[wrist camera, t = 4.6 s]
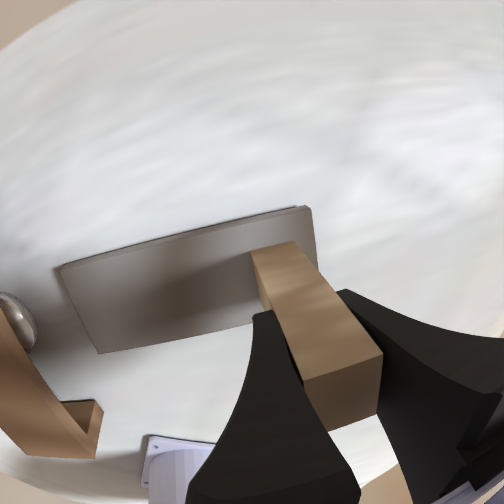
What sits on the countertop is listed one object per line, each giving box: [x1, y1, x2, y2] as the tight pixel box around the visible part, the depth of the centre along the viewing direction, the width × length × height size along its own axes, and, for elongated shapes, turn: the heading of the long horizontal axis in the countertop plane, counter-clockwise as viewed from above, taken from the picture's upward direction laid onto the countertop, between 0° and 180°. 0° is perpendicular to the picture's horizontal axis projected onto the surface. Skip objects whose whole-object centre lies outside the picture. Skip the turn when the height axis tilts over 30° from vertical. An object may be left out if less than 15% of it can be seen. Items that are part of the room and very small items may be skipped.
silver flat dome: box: [0, 292, 38, 354], centre depth 14 cm, size 4×4×1 cm
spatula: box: [59, 205, 383, 432], centre depth 11 cm, size 12×5×9 cm, turn 101°
